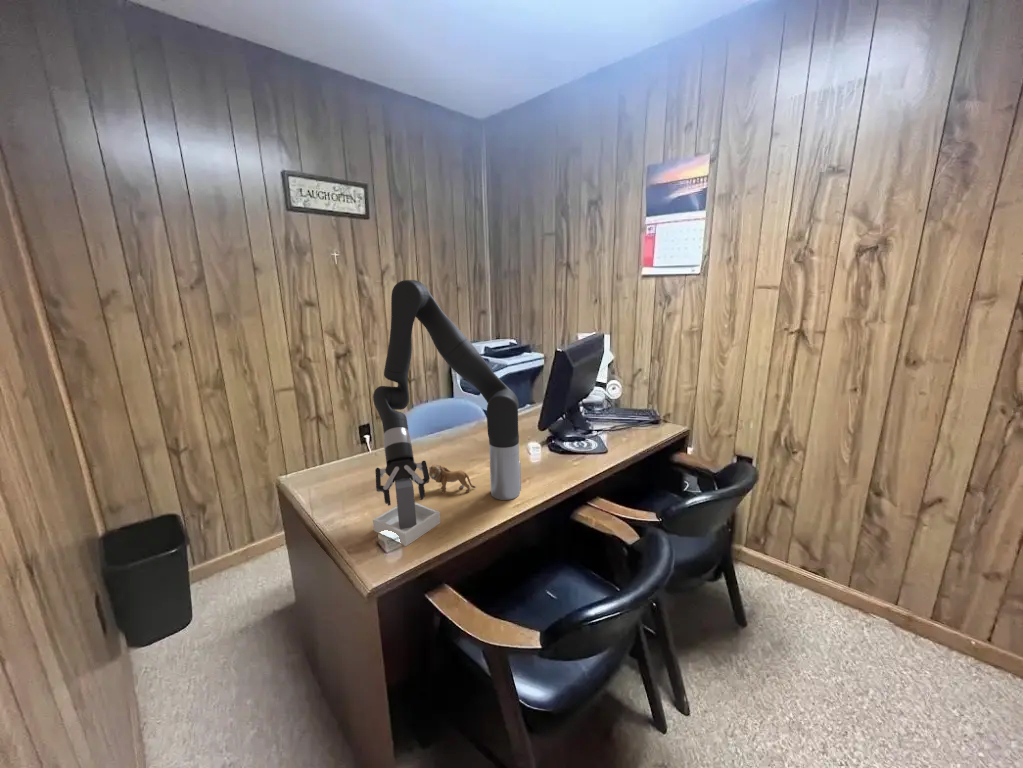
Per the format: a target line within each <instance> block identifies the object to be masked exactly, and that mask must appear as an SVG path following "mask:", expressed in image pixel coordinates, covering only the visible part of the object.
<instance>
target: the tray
mask: <svg viewBox="0 0 1023 768" xmlns="http://www.w3.org/2000/svg"><path fill="white" fill-rule="evenodd" d="M415 512H416V525H415V526H413V527H410V528H406V529H401V530H400V526H399V519H398V509H397V505H396V506H395V507H393V508H391V509H389V510H387V511H386V512H384V513H382V514H380V515H379V516H377V517H375V518H373V519H372V523H373V531H374V532H375V533H378V534H379V532H381V531H384V530H388V531H392V532H394V533H396V534H397V535H398V536H399V539H400V542H401V544H400V545H403V546H404V547H407V546H409V545H410V544H411V543H413V542H415V541H416V540H417V539H419V538H421V537H422V536H423V535H425V534H426V533H428V532H429V531H431V530H432V529H434V528H436V527H437V526H438V525H440V524H441V516H440V515H441V512H440V511H439V510H435V509H433V508H431V507H428V506H425V505H423V504H420V503H417V502H415Z"/></svg>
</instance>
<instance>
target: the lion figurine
mask: <svg viewBox="0 0 1023 768" xmlns="http://www.w3.org/2000/svg"><path fill="white" fill-rule="evenodd" d="M428 473H429V477H430V479H432V480H434V481H435V482H436V483H439V484H440V483H441V493H445V492H446V491H447V483H455V482H457V481H458V482H459V483H460V484H461V485H459V488H460V489H463V488H466V490H465V492H466V493H470V492H471V488H473V489H475V488H477V486H475V485H473V484H472V483H471V480H470V477H469V475H468V474H467V472H466V471H464V470H461V469H460V470H449V469H448V468H447V467H444V466H442V465H439V464H432V465H431V466H429V467H428ZM466 480H467V481H468V483H467V481H466Z"/></svg>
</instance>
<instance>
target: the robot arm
mask: <svg viewBox="0 0 1023 768" xmlns="http://www.w3.org/2000/svg"><path fill="white" fill-rule="evenodd" d="M390 301H391V302H390V304H391V307H390V308H391V309H390V313H391V314H390V315H391V316H390V333H389V340H388V349H387V353H386V354H387V355H386V359H385V365H384V370H383V377H384V378H385V379H387V380H388V381H391V382H395V383H397V386H388V385H381V386H378V387H376V388H375V389H374V391H373V394H372V395H373V396H372V400H373V405H374V407H375V409H376V411H377V413H378V416H379V418H380V420H381V422H382V430H383V449H384V453H385V454H384V455H385V461H386V462H385V463H386V467H385V468H379V467H376V468H375V490H376V492H378V493H379V492H382V493H383V500H384V504H385V505H387V506H391V497H390V489H391V487H393V484H395V482H397V481H403V480H409V479H412V483H413V482H414V483H415V484H416V485H417V486H418V487H417V488H418V495H419V499H420V500H421V501H422V500H424V498H425V496H426V491H425V485H426V484H429V483H430V479H431V477H430V476H429V468H428V465H427V462H426V460H422V461H421V462H418V463H416V461H415V459H414V452H413V446H412V438H411V435H410V432H409V425H408V419H407V416H406V414H404V412H402V410H404V409H406V408H407V407H408V405H409V403H410V392H409V382H408V381H409V371H410V366H411V360H412V354H413V353H412V350H413V349H412V347H413V346H412V345H413V344H412V334H413V326H414V322H415V319H417V320H418V321H419V322H420V323H421V324H422V325H423V326H424V328H425V329H426V331H427V332H428V334H429V336H430V338H431V341H432V342H433V345H434V347H435V348H436V350H437V352H438V353H439V354H440V356H441V357H442V358H443V360H444V361H445V362H446V363H447V364H448V366H449V367H450V368H451V369H452V370H453V371H454V372H455V373H456V374H457V375H459V376H460V377H461V378H463V379H464V380H466V381H467V382H468V383H470V384H471V385H473V386H474V387H475V388H476V389H477V391H478V392H479V393H480V394H481V396H482V397H483V398H484V400H485V401H486V403H487V406H486V422H487V423H486V424H487V426H486V427H487V436H488V446H489V448H488V450H489V477H490V478H489V479H490V481H489V482H490V495H491V496H492V497H493V498H494V499H496V500H500V501H501V500H502V501H509V500H513V499H516V498H518V497H519V495H520V493H521V490H522V476H521V475H522V471H521V470H522V465H521V461H520V433H519V407H520V403H519V399H518V396H517V395H516V394H515V392H514V391H513V390H512V389H510V388H509V387H508V385H506V384H505V383H504V382H503V381H502V379H500V378H499V376H497V375H496V373H495V372H494V371H493V370H492V368H491V367H490V366H489V364H488V363H487V362H486V360H485V359H484V358H483V356H482V355H481V353H480V352H479V351H478V350H477V349H476V347H475V346H474V345H473V344H472V342H471V341H470V340H469V339H468V338H467V336H466V335H465V334H464V333H463V332H462V330H460V328H458V326H457V325H456V324H455V323H454V322H453V321H452V320H451V319H450V318H449V316H447V315H446V313H445V312H444V311H443V310H442V308H441V307H440V306H439V304H438V302H437V301H436V299H435V297H433V295H432V294H431V292H430V291H429V289H428V287H427V286H426V285H425V284H424V283H422V282H421V281H419V280H416V279H406V280H405V279H403V280H401V281H398V282H397V283H396V284H395V285H394V286H393V287H392V290H391V300H390ZM417 468H418V469H419V471H422V476H423V478H421V477H420V476H419V474H417V473H416V470H417ZM384 474H386V475H387V476H388V478H387V479H386V483H385V484H384V485H382V482H381V478H383V477H384Z"/></svg>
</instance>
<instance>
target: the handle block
mask: <svg viewBox="0 0 1023 768" xmlns="http://www.w3.org/2000/svg"><path fill="white" fill-rule="evenodd" d="M394 486H395V495H396V496H395V497H396V506H397V509H398V519H399V526H400V530H401V529H406V528H410V527H413V526H415V525H416V512H415V503H416V502H415V500H416V499H415V492H414V491H415V490H414V489H415V488H414V483H413V481H412V479H409V480H403V481H397V482H395V481H394Z"/></svg>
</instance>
